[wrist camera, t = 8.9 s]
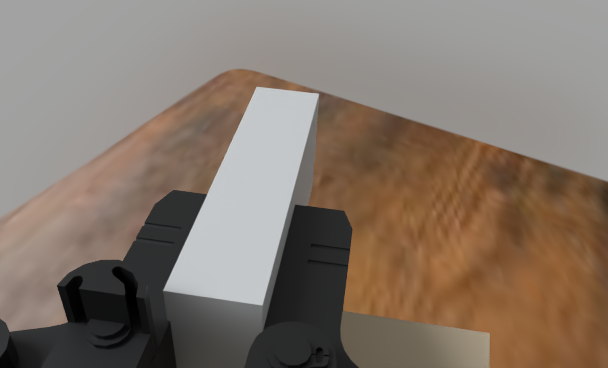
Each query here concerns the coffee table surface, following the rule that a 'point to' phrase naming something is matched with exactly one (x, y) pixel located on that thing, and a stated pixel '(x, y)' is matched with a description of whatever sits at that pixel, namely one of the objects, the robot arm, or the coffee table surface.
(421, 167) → the coffee table surface
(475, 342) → the front flap
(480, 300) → the coffee table surface
